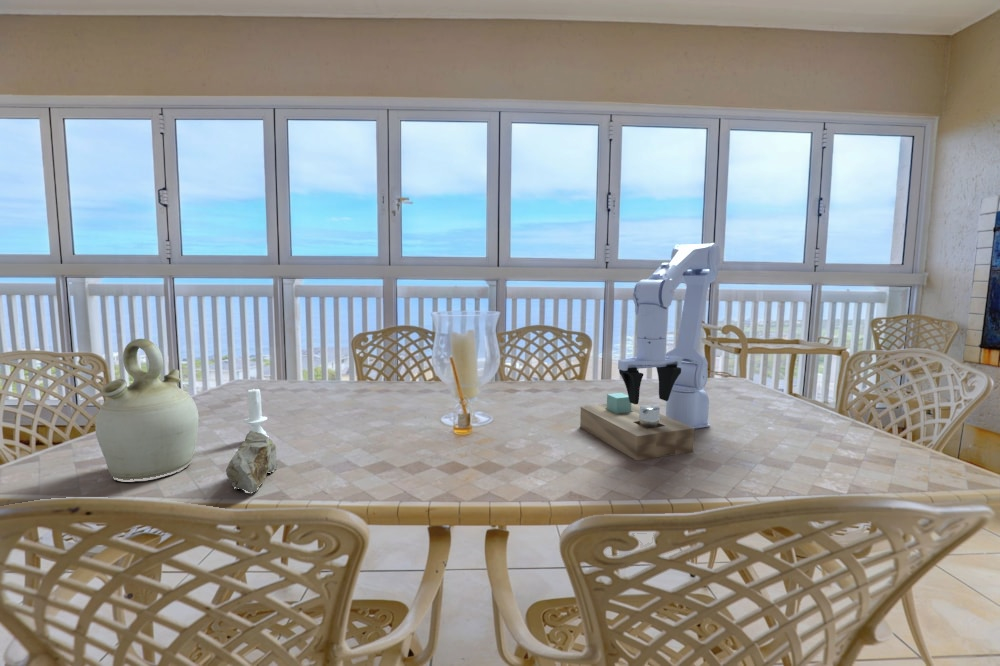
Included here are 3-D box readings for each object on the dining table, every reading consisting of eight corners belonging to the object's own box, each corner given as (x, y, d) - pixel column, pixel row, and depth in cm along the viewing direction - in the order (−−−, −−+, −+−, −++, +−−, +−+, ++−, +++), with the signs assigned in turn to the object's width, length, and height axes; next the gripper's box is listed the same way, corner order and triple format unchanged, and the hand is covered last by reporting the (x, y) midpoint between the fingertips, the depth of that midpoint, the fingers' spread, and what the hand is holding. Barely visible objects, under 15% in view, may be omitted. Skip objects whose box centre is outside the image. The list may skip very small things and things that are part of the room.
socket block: (629, 420, 117) (629, 401, 117) (693, 451, 97) (694, 428, 96) (580, 427, 112) (580, 406, 112) (636, 460, 92) (637, 436, 91)
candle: (274, 440, 104) (271, 387, 102) (248, 446, 100) (244, 391, 99) (264, 434, 108) (261, 383, 106) (239, 440, 104) (235, 387, 102)
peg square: (620, 413, 112) (621, 392, 111) (631, 417, 108) (631, 396, 107) (606, 414, 110) (607, 394, 110) (616, 419, 107) (616, 398, 106)
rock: (244, 461, 89) (241, 418, 85) (280, 464, 90) (279, 421, 86) (214, 510, 78) (209, 463, 74) (256, 513, 79) (253, 467, 75)
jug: (122, 495, 78) (106, 347, 75) (86, 475, 86) (71, 340, 83) (217, 464, 90) (207, 336, 87) (179, 449, 99) (168, 331, 96)
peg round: (650, 426, 102) (651, 404, 101) (662, 432, 98) (663, 409, 97) (635, 429, 100) (635, 406, 100) (646, 434, 96) (647, 411, 96)
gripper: (666, 333, 103) (664, 393, 104) (610, 336, 98) (608, 399, 100) (689, 337, 96) (686, 401, 98) (630, 341, 91) (628, 408, 93)
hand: (648, 401), depth 98 cm, fingers open, 7 cm apart
